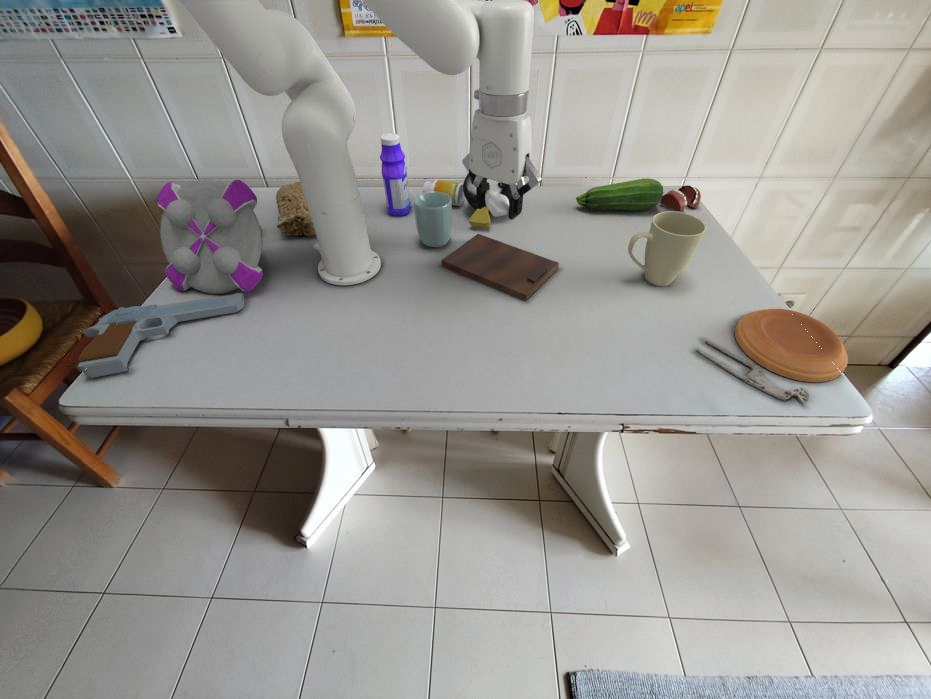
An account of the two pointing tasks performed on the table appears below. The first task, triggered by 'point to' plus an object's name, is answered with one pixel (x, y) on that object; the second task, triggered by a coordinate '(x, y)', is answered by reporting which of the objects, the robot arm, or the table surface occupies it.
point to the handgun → (142, 330)
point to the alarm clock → (480, 215)
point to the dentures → (682, 198)
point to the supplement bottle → (447, 190)
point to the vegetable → (623, 196)
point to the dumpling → (496, 203)
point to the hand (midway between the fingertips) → (498, 210)
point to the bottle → (394, 175)
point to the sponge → (293, 211)
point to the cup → (433, 218)
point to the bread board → (501, 266)
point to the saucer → (791, 344)
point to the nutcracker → (759, 378)
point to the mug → (668, 245)
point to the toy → (210, 236)
